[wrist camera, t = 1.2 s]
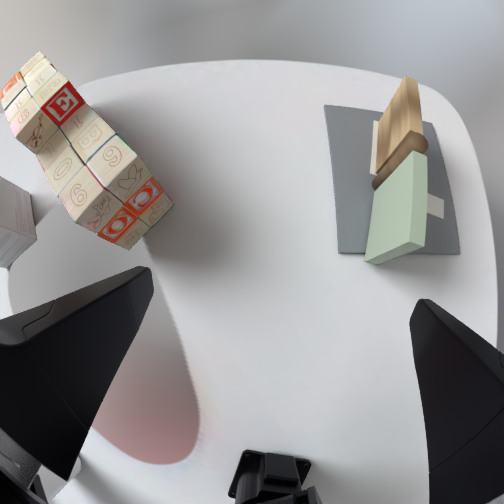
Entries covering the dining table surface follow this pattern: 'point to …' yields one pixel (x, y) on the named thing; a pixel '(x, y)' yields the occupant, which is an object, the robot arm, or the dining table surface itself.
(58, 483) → the drinking glass
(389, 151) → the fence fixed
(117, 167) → the stack of blocks
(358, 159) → the board
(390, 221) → the fence hinged panel
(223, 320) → the dining table surface
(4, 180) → the supplement box
